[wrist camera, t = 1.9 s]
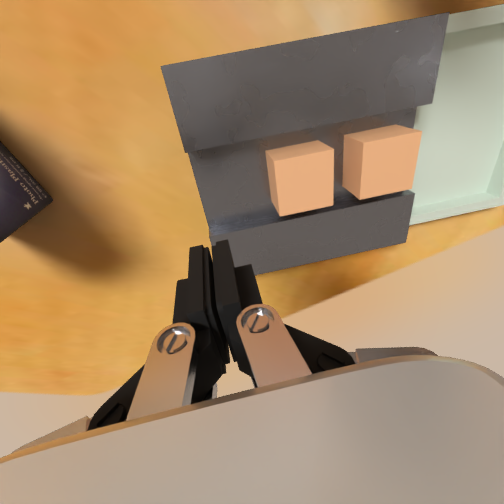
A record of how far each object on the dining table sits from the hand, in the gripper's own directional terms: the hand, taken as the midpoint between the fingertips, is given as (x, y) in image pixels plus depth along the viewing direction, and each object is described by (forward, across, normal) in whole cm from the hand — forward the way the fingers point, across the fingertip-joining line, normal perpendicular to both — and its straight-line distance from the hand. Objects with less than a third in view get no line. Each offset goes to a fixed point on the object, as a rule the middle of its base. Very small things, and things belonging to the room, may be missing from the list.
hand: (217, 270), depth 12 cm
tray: (+13, -22, 0) cm, 26 cm away
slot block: (+13, -8, 0) cm, 16 cm away
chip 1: (+10, -7, 0) cm, 12 cm away
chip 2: (+10, -13, 0) cm, 16 cm away
